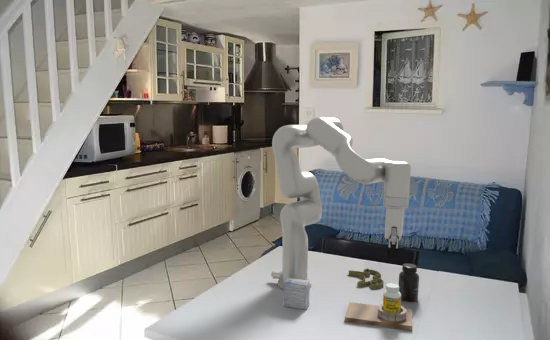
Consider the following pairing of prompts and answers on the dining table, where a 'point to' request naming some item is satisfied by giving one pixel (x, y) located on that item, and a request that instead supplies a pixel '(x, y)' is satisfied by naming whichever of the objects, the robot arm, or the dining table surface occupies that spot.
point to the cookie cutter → (367, 273)
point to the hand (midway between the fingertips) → (393, 255)
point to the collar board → (378, 316)
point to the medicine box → (296, 293)
